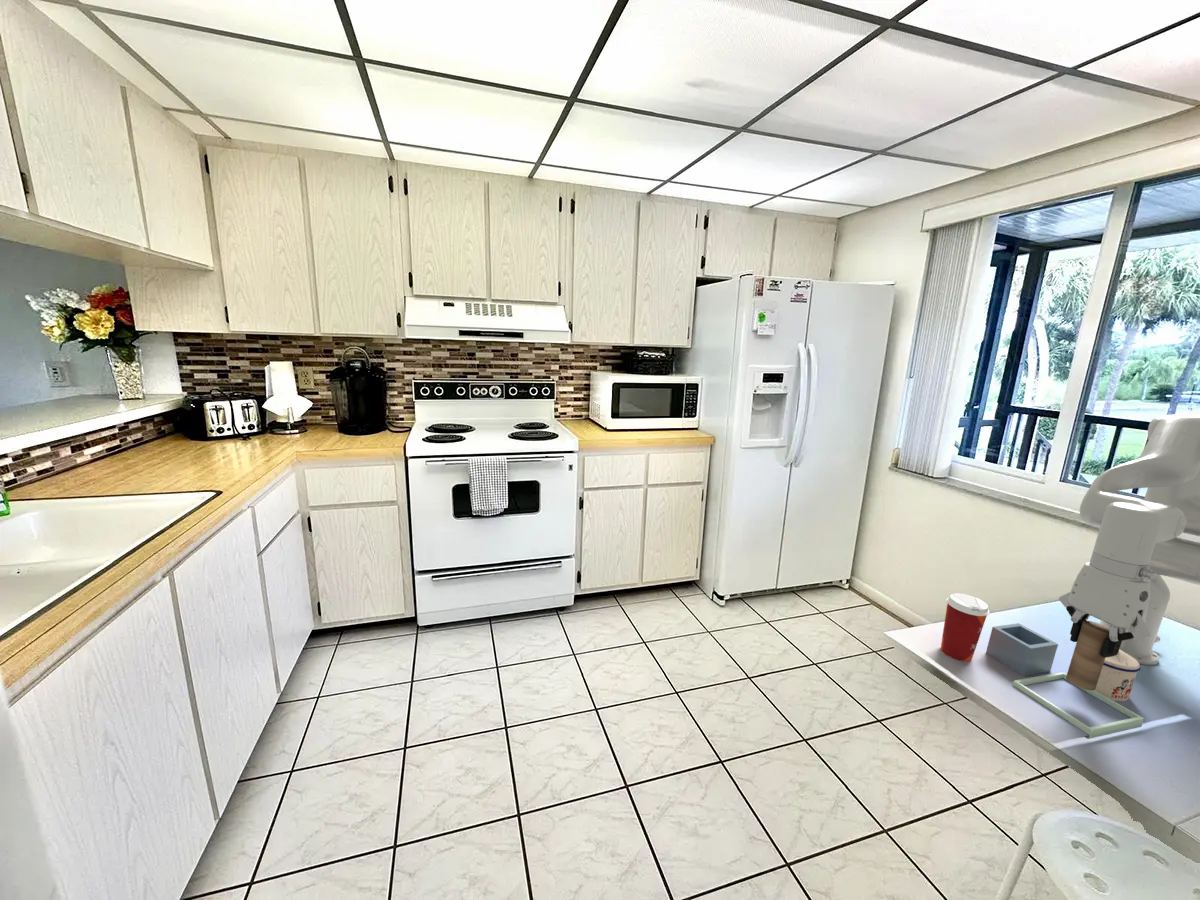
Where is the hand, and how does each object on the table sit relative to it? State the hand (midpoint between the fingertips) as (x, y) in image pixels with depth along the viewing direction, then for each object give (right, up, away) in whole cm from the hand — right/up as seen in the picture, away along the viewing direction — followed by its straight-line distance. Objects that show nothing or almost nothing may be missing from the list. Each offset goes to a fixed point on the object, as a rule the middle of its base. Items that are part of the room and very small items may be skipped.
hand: (1091, 647), depth 97 cm
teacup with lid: (+12, -13, +9) cm, 20 cm away
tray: (-1, -14, +3) cm, 14 cm away
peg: (0, -8, +2) cm, 8 cm away
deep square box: (-1, -11, +16) cm, 20 cm away
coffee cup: (-14, -10, +18) cm, 25 cm away
